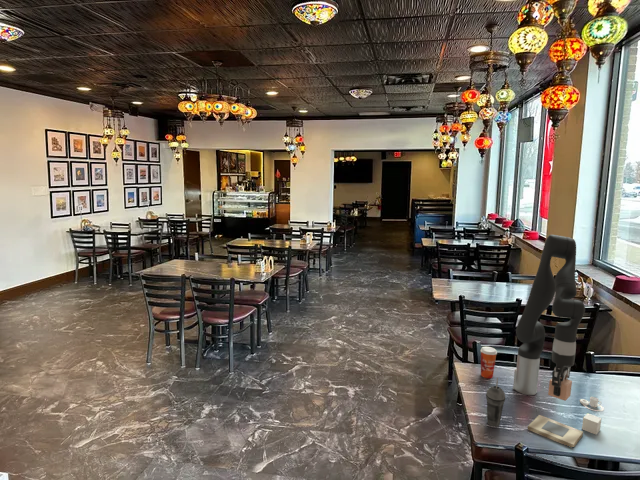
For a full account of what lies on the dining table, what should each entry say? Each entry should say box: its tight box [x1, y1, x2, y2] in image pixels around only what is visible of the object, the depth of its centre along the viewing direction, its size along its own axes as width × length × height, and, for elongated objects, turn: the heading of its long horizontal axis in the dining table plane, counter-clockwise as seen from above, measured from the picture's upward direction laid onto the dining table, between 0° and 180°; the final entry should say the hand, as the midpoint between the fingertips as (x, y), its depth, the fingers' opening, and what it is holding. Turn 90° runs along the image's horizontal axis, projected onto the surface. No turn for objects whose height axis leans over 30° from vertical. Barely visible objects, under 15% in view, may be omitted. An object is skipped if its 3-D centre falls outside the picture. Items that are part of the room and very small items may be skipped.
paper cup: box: [479, 346, 498, 379], centre depth 213 cm, size 8×8×14 cm
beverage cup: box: [485, 377, 507, 428], centre depth 170 cm, size 7×7×20 cm
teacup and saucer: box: [579, 396, 605, 412], centre depth 187 cm, size 9×8×4 cm
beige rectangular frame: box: [527, 414, 584, 448], centre depth 166 cm, size 16×12×2 cm
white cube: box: [581, 413, 602, 435], centre depth 169 cm, size 5×5×5 cm
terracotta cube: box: [547, 377, 573, 402], centre depth 164 cm, size 6×6×6 cm
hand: (559, 392), depth 164 cm, fingers closed on terracotta cube, 6 cm apart
